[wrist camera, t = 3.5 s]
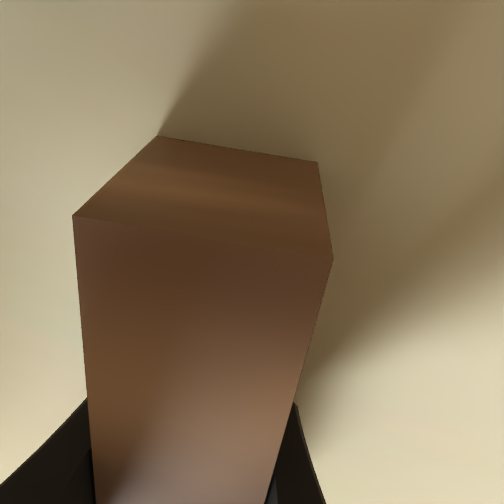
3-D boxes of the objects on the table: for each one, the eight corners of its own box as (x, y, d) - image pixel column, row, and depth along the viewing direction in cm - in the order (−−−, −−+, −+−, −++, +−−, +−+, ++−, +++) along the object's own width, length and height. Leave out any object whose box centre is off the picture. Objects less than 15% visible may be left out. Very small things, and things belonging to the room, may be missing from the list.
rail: (239, 501, 15) (224, 644, 12) (147, 486, 15) (106, 624, 12) (317, 161, 9) (333, 258, 5) (157, 135, 9) (72, 215, 5)
